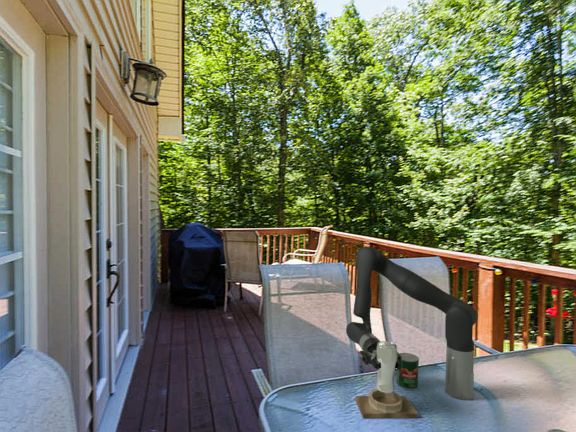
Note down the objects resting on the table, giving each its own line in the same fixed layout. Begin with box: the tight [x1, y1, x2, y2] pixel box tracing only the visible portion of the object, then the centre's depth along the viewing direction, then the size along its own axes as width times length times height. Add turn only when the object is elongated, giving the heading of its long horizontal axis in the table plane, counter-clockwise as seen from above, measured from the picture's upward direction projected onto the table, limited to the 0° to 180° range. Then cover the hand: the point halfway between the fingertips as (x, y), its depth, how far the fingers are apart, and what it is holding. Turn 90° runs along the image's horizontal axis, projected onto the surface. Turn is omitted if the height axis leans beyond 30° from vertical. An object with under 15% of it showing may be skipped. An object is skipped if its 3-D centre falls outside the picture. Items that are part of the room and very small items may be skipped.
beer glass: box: [375, 340, 398, 393], centre depth 121 cm, size 7×7×15 cm
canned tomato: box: [395, 352, 420, 391], centre depth 139 cm, size 8×8×11 cm
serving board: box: [354, 388, 419, 419], centre depth 122 cm, size 18×11×4 cm, turn 93°
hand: (388, 366), depth 119 cm, fingers closed on beer glass, 6 cm apart
